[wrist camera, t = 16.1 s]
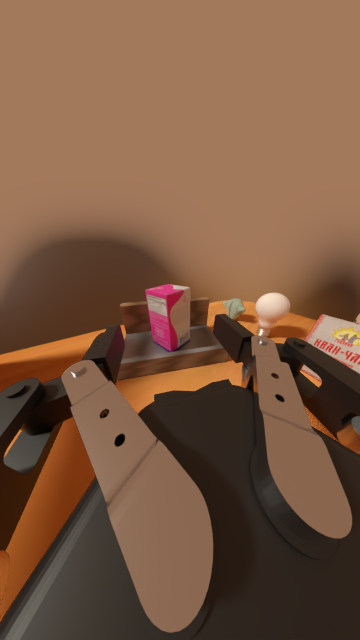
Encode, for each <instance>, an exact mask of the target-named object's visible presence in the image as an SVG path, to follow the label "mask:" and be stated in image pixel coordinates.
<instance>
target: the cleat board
mask: <svg viewBox="0 0 360 640" xmlns="http://www.w3.org/2000/svg"><path fill="white" fill-rule="evenodd" d="M208 306H209V299H208V298H206V297H198V298H190V341H189V342H188V343H186V344H185V345H184V346H182V347H181V348H180V349H178V350H177V351H175V352H168V351H166V350H165V349H163V348H162V347H160V346H159V345H157V344H156V343H154V342H153V336H152V330H151V323H150V317H149V310H148V304H147V301H145V302H132V303H121V305H120V310H121V314H122V318H123V322H124V326H125V330H126V338H125V341H124V343H125V349H124V353H123V357H122V361H121V365H120V369H119V373H118V377H117V378H118V380H122V379H128V378H134V377H140V376H145V375H151V374H157V373H163V372H168V371H174V370H180V369H185V368H191V367H197V366H203V365H208V364H214V363H220V362H226V361H228V356H229V354H228V353H227V351H226V350H225V349H224V348H223V346H222V345H221V344H220V342H219V341H218V340H217V339H216V337H215V336H214V334H213V332H212V331H211V330H210V329H209V327H208V326H207V316H208Z"/></svg>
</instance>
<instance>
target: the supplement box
mask: <svg viewBox="0 0 360 640" xmlns="http://www.w3.org/2000/svg"><path fill="white" fill-rule="evenodd" d="M146 297H147V304H148V310H149V317H150V323H151V330H152V336H153V342H154V343H156V344H157V345H159V346H160V347H162V348H163V349H165V350H166V351H168V352H175V351H177V350H178V349H180V348H181V347H182V346H184V345H185V344H186V343H188V342H189V341H190V288H189V287H183V286H176V285H170V284H167V285H163V286H159V287H155V288H151V289H147V290H146Z"/></svg>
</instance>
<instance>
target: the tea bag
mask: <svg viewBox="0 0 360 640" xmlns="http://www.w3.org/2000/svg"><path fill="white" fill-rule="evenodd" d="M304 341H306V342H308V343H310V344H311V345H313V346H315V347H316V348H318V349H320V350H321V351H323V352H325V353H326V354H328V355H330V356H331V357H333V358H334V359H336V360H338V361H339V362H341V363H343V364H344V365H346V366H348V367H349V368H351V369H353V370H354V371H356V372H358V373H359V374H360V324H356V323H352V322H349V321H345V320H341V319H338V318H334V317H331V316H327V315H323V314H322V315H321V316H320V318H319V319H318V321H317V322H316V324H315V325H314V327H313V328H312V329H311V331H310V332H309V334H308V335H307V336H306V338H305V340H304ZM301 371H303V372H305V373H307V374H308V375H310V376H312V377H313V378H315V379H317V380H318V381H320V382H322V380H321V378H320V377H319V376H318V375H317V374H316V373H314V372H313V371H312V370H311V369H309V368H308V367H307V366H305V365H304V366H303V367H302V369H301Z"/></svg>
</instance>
